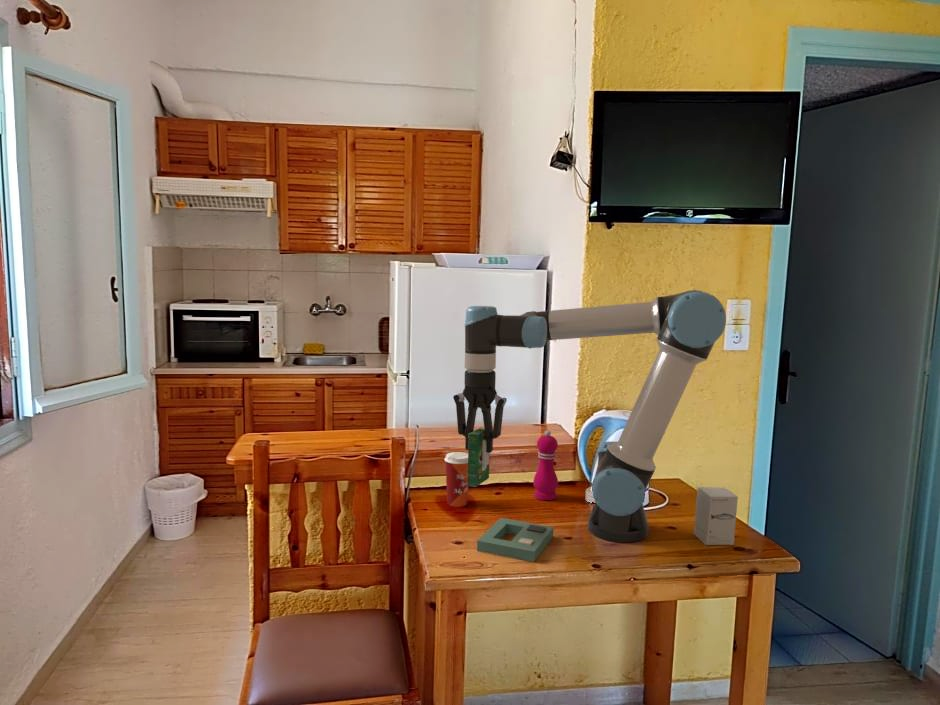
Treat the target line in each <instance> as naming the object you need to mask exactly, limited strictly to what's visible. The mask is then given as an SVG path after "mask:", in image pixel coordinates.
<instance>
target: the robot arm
mask: <svg viewBox="0 0 940 705" xmlns="http://www.w3.org/2000/svg"><path fill="white" fill-rule="evenodd" d="M726 313H727V312H726V311H725V307H724V305H723V304H722V302H721V301H720V300H719V298H717V297H716V296H715V295H713V294H710V293H709V292H706V291H702V290H696V289H695V290H687V291H684V292H680V293H676V294H670V295H663V296H655V298H654V299H653V300H652V301H644V302H633V303H621V304H611V305H610V304H609V305H599V306H588V307H577V308H576V307H575V308H565V309H564V308H563V309H553V310H544V311H535V310H532V311H526V312H524V313H523V314H520V315H505V314H504V315H503V314H498V312H497V307H495V306H492V305H489V306H488V305H472V306H471V305H470V306H468V307H467V309H466V311H465V321H464V322H465V323H464V339H465V340H464V345H465V347H464V348H465V349H464V369H466V370H465V371H464V388H463V390H462V392H461V393H457V394H455V395H453V397H452V398H453V401H454V403H455V408H456V420H457V433H458V435H460V436H461V435H462V436H464V437H465V440H464V441H465V446H464V447H465V450H466V451H468V442H469V433H471V432H473V431H475V430H474V429H475V424H476V417H477V411H478V409H480V410H481V411H480V412H481V413H482V420H483V428H484V429H485V437H486V438H485V439H484V440H483V446H482V466H487V465H488V464H489V465H490V460H489V453H492V452H493V450H494V440H495V439H497V438H499V437H500V436H501V435H502V434H501V433H502V425H503V417H504V416H503V415H504V407H505V405H506V403H507V401H508V400H507V398H506V397H501V396H500V395H498V392H497V391H496V379H497V378H496V376H497V375H496V371H495V369H496V367H497V366H496V362H497V361H496V360H497V347H507V348H508V347H510V348H527V349H535V348H536V349H541V348H543V347H544V346H545V345H546V344H547V343H546V342H547V341H557V340H559V341H560V340H572V339H583V338H584V339H585V338H599V337H600V338H601V337H602V338H603V337H613V336H628V335H640V334H641V335H642V334H655V335H657V338H656V342H657V344H658V347H659V350H658V352H657V354H656V356H655V359H654V361H653V363H652V364H651V365H652V366H651V368H650V370H649V372H648V374H647V376H646V379H645V380H644V383H643V386H642V388H641V389H640V392H639V394H638V397H637V398H636V401H635V403H634V405H633V407H632V409H631V412H630V413H629V416H628V419H627V421H626V422H625V425H624V427H623V429H622V431H621V434H620V436H619V438H618V441H603V442H601V443H600V444H599V445H598V450H597V454H598V455H597V456H598V457H597V467H596V470H595V475H594V478H593V480H592V483H591V486H592V492H593V497H594V500H595V504H594V506H592V509H591V512H590V513H589V517H588V520H587V530H588V531H589V532H590V533H591V534H592V535H593V536H595V537H598V538H600V539H602V540H606V541H611V542H618V543H634V542H639V541H643V540H645V539H646V538H647V537H648V536H649V522H648V519H647V515H646V512H645V508H644V502H645V498H646V497H645V496H646V490H647V488H648V485H649V483H650V481H651V479H652V478H653V475H654V473H655V470H656V469H657V467H656V465H655V462H654V460H653V458H654V456H655V454H656V452H657V450H658V448H659V446H660V444H661V441H662V439H663V438H664V435H665V434H666V433H665V432H666V431H667V429H668V427H669V424H670V422H671V421H672V418H673V416H674V413H675V411H676V410H677V407H678V405H679V402H680V400H681V399H682V396H683V394H684V392H685V389H686V388H687V385H688V383H689V382H690V379H691V377H692V375H693V373H694V370H695V369H696V367H697V365H698V364H700V363H703V362H705V361H707V359H708V357H709V355H710V353H711V351H712V349H713V347H714V345H715V342H716V341H718V340H719V339H720V338H721V336H722V335H723V334H724V331H725V328H726V326H727V325H726V324H727V314H726ZM465 401H466V402H467V403H468V408H467V412H468V413H467V418H466V408H465V407H466V406H465ZM494 401H495V402H494ZM493 402H494V404H495V405H496V406H495V409H494V419H493V420H492V403H493Z"/></svg>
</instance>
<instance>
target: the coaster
mask: <svg viewBox="0 0 940 705" xmlns="http://www.w3.org/2000/svg"><path fill="white" fill-rule="evenodd" d="M590 489H591V486H588V488H586V489H585V494H584V495H585V498H584V501H585V500H586V501H587V502H590V503H592V502H595V500H594V497H593V493H592V492H591V490H590ZM586 501H585V502H586ZM587 502H586V503H587Z"/></svg>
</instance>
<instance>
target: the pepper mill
mask: <svg viewBox="0 0 940 705" xmlns="http://www.w3.org/2000/svg"><path fill="white" fill-rule="evenodd" d="M551 434H552V433H551V431H550V430H545V431H544V435H542V436H540V437H538V439H537V441H536V449H538V452H537V454H538V455H537V456H538V458H539V463H538V467H537V471H536V472H535V474H534V477H533V480H532V481H533V482H532V484H533V487H534V488H535V490H534V498H535V497H536V498H537V499H536V498H535V499H536V500H538V499H540V500H539V501H542V500H551V501H554V500H556V499H555V498H557V491H556V489H557V488H558V486H559V479H558V476H557V473H556V470H555V466H554V462H555V458H556V451H557V450H558V445H559V444H558V440H557V438H555V437H554V436H552V435H551ZM553 499H554V500H553Z"/></svg>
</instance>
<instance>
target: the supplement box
mask: <svg viewBox="0 0 940 705" xmlns="http://www.w3.org/2000/svg"><path fill="white" fill-rule="evenodd" d="M696 491H697V492H696V503H695V504H696V505H695V516H694V529H693V534H694V536H695V537H697V538H698V539H699V541H701V542H702V543H703V544H704V545H705V546H714V545H715V546H717V545H718V546H719V545H721V546H724V545H726V546H727V545H728V546H733V545H734V544H735V534H736V521H737V509H738V499H739V497H738V495H737V494H735V493H733V491H731V490H729V489H728V488H726V487H725V486H724V487H723V486H721V487H719V486H718V487H717V486H715V487H714V486H713V487H712V486H711V487H710V486H709V487H708V486H707V487H706V486H705V487H704V486H703V487H701V486H699V487H697V490H696Z"/></svg>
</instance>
